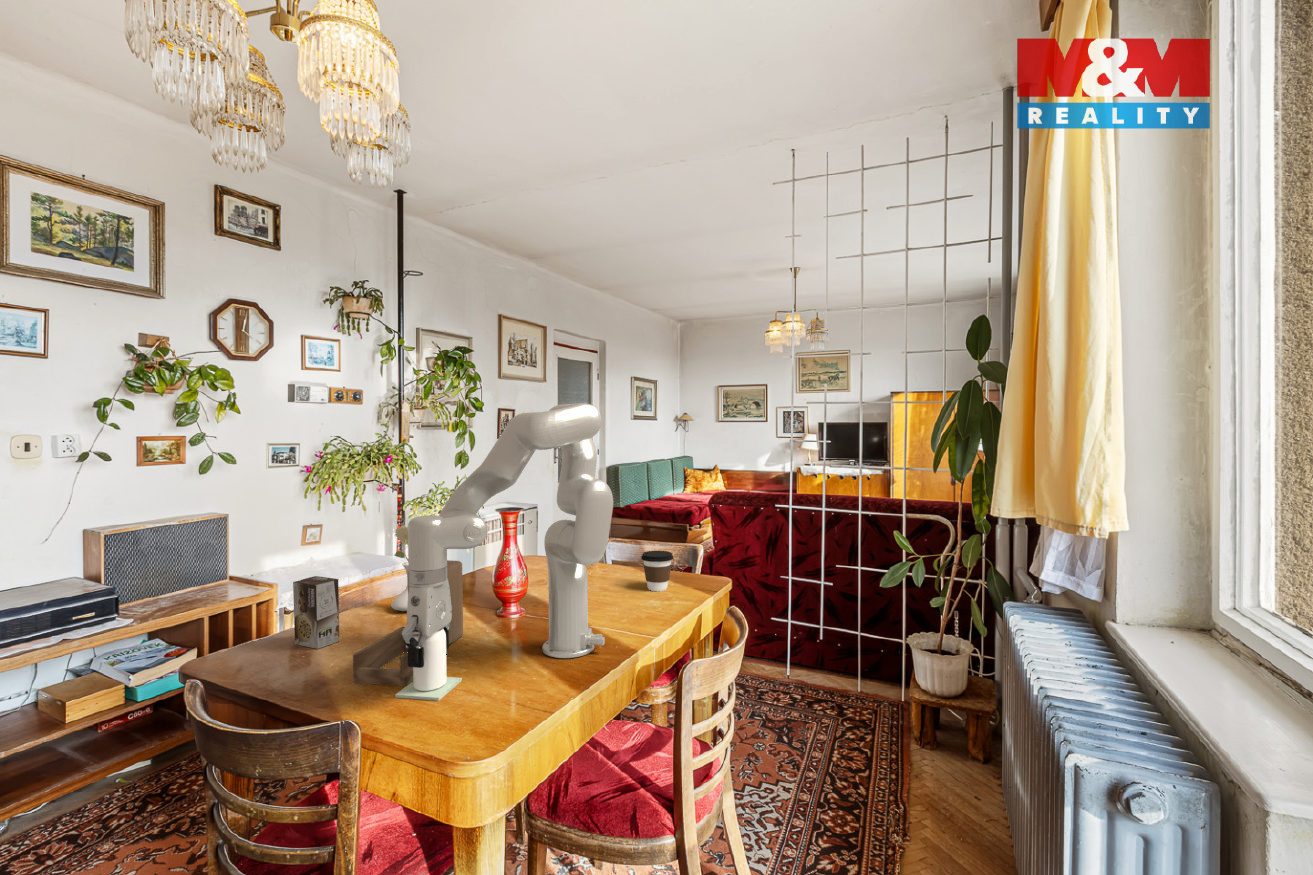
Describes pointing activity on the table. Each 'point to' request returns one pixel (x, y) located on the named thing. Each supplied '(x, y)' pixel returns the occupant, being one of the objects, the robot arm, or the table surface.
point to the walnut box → (383, 662)
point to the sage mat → (434, 695)
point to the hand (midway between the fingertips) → (429, 657)
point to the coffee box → (316, 611)
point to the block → (454, 599)
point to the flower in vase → (402, 599)
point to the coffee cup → (657, 569)
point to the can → (432, 663)
